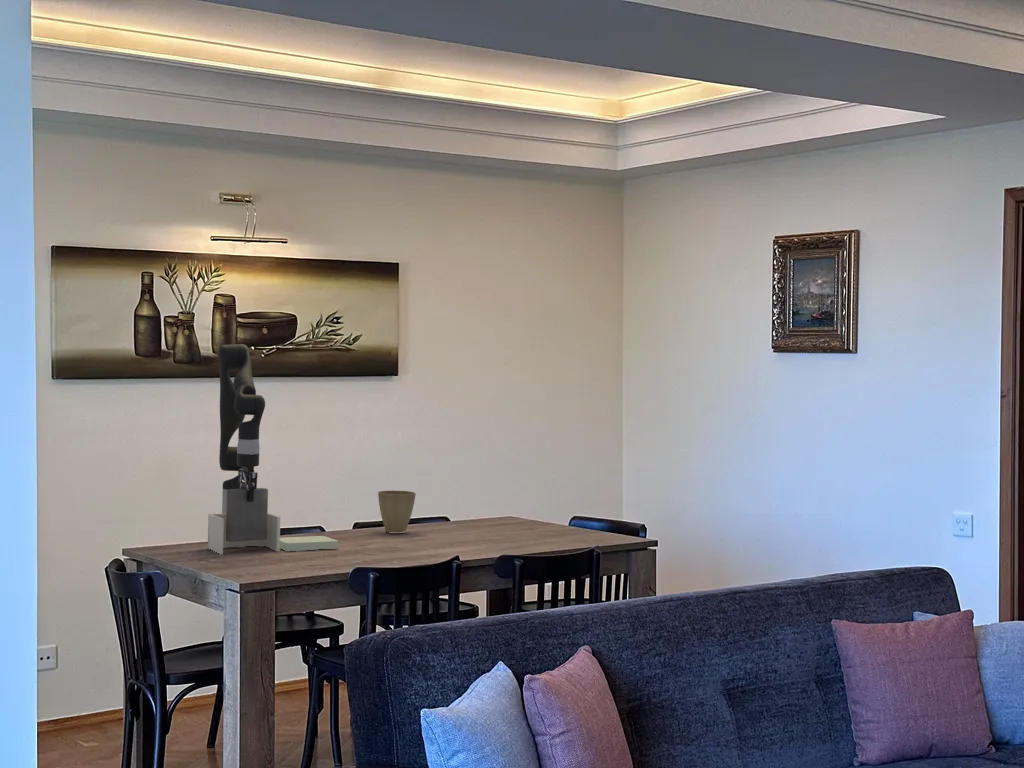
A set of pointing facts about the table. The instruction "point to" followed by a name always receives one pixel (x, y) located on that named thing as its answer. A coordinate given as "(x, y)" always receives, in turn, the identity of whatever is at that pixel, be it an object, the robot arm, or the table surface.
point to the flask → (246, 515)
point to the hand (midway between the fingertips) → (246, 500)
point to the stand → (307, 543)
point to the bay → (219, 541)
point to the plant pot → (396, 509)
